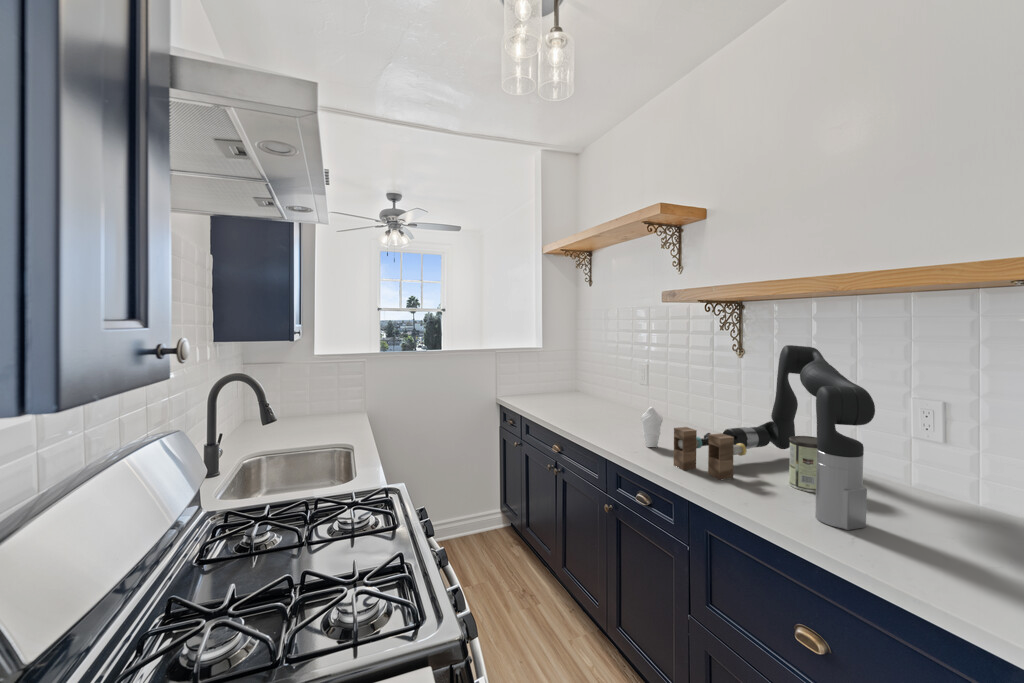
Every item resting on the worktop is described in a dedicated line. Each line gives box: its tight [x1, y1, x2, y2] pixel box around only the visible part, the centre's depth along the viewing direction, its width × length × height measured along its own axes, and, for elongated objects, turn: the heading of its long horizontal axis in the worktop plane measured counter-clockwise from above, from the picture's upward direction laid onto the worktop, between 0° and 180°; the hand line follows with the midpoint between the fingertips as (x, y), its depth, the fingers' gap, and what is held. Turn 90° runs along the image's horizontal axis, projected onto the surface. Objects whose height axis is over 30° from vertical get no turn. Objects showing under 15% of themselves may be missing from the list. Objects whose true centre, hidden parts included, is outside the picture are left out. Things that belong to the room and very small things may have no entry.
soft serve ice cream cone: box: [640, 406, 664, 448], centre depth 177 cm, size 8×8×16 cm
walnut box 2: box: [707, 432, 734, 481], centre depth 143 cm, size 5×5×13 cm
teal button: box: [678, 436, 703, 449], centre depth 153 cm, size 4×7×4 cm, turn 106°
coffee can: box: [788, 435, 817, 494], centre depth 134 cm, size 10×10×14 cm
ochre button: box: [733, 443, 748, 456], centre depth 144 cm, size 4×7×4 cm, turn 106°
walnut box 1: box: [673, 426, 698, 471], centre depth 152 cm, size 5×5×13 cm
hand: (698, 442), depth 154 cm, fingers closed
